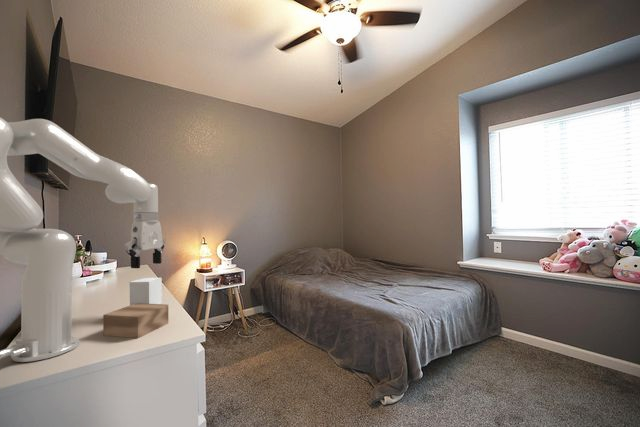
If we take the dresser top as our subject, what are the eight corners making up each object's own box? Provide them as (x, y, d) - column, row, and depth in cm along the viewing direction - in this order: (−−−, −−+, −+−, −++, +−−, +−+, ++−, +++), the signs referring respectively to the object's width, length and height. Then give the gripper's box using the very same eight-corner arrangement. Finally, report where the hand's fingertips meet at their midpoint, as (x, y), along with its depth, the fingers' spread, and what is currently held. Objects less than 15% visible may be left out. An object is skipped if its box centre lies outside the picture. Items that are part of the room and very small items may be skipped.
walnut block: (138, 338, 82) (137, 317, 82) (103, 335, 84) (103, 314, 84) (168, 323, 94) (168, 304, 94) (137, 321, 96) (137, 303, 96)
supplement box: (162, 311, 106) (162, 277, 106) (148, 318, 98) (148, 281, 98) (144, 311, 106) (144, 277, 107) (128, 318, 99) (128, 281, 99)
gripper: (134, 217, 94) (135, 270, 94) (172, 217, 111) (173, 262, 111) (115, 218, 95) (116, 270, 95) (155, 217, 112) (156, 261, 112)
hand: (146, 265), depth 103 cm, fingers open, 9 cm apart
